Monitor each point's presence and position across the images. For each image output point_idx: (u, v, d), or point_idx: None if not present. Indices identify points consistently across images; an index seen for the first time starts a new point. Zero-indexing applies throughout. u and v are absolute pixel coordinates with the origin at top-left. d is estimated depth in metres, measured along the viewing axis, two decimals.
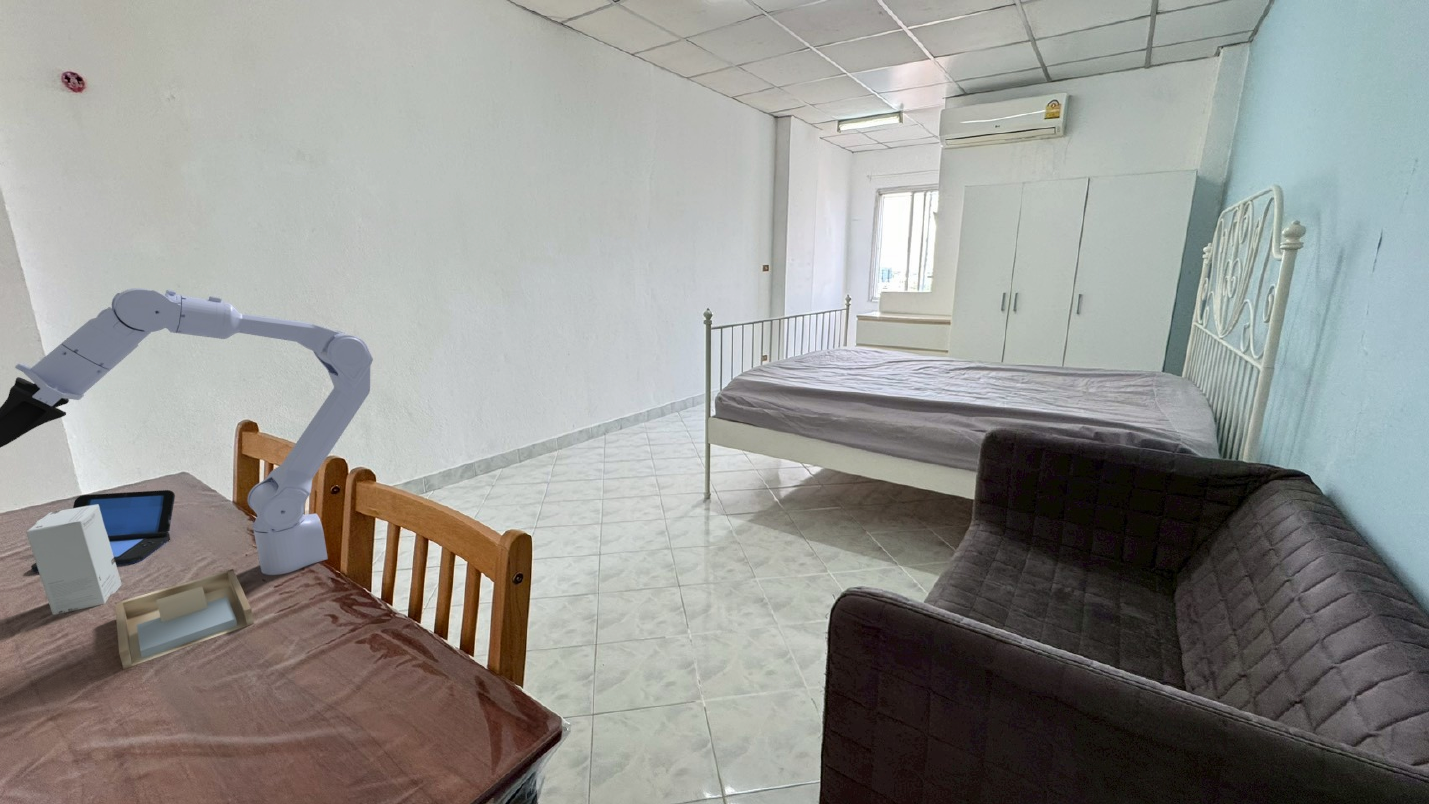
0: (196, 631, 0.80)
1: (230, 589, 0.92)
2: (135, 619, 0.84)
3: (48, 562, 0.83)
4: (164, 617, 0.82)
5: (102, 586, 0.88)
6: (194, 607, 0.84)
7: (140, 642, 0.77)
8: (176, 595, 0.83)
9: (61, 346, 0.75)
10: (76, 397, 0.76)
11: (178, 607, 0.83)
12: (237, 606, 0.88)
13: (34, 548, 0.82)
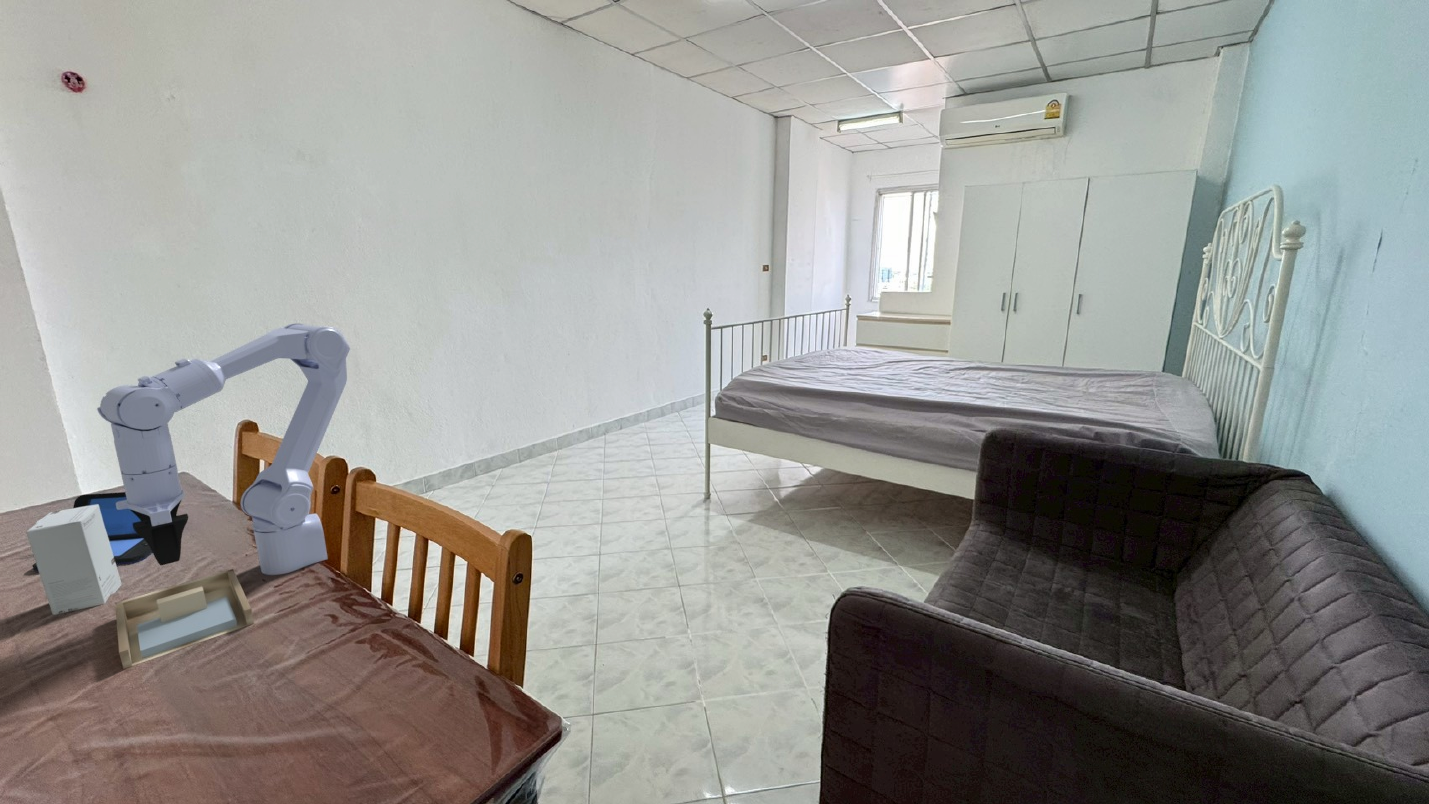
0: (196, 631, 0.80)
1: (230, 589, 0.92)
2: (135, 619, 0.84)
3: (48, 562, 0.83)
4: (164, 617, 0.82)
5: (102, 586, 0.88)
6: (194, 607, 0.84)
7: (140, 642, 0.77)
8: (176, 595, 0.83)
9: (123, 475, 0.79)
10: (180, 498, 0.83)
11: (178, 607, 0.83)
12: (237, 606, 0.88)
13: (34, 548, 0.82)
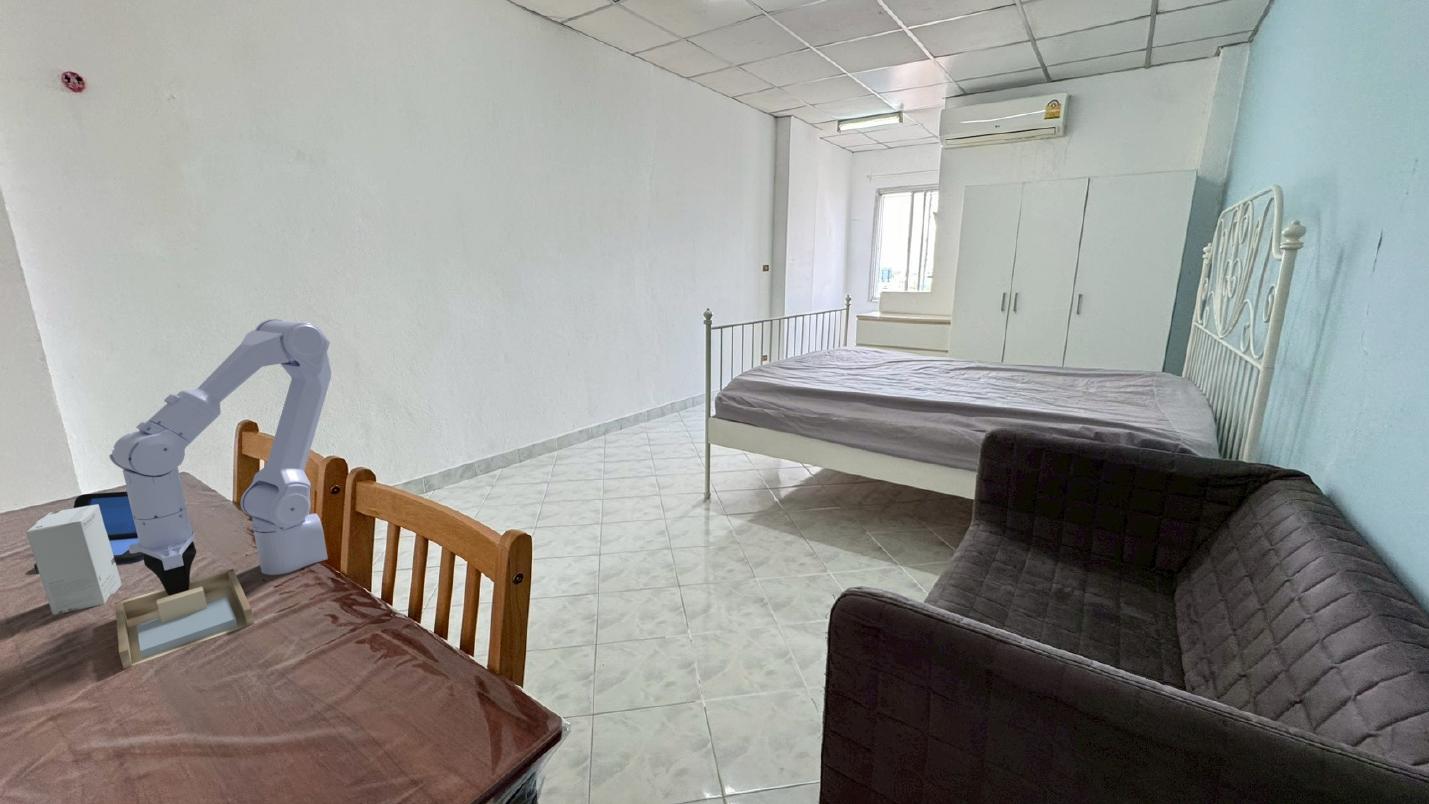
0: (196, 631, 0.80)
1: (230, 589, 0.92)
2: (135, 619, 0.84)
3: (48, 562, 0.83)
4: (164, 617, 0.82)
5: (102, 586, 0.88)
6: (194, 607, 0.84)
7: (140, 642, 0.77)
8: (176, 595, 0.83)
9: (135, 520, 0.81)
10: (190, 540, 0.85)
11: (178, 607, 0.83)
12: (237, 606, 0.88)
13: (34, 548, 0.82)
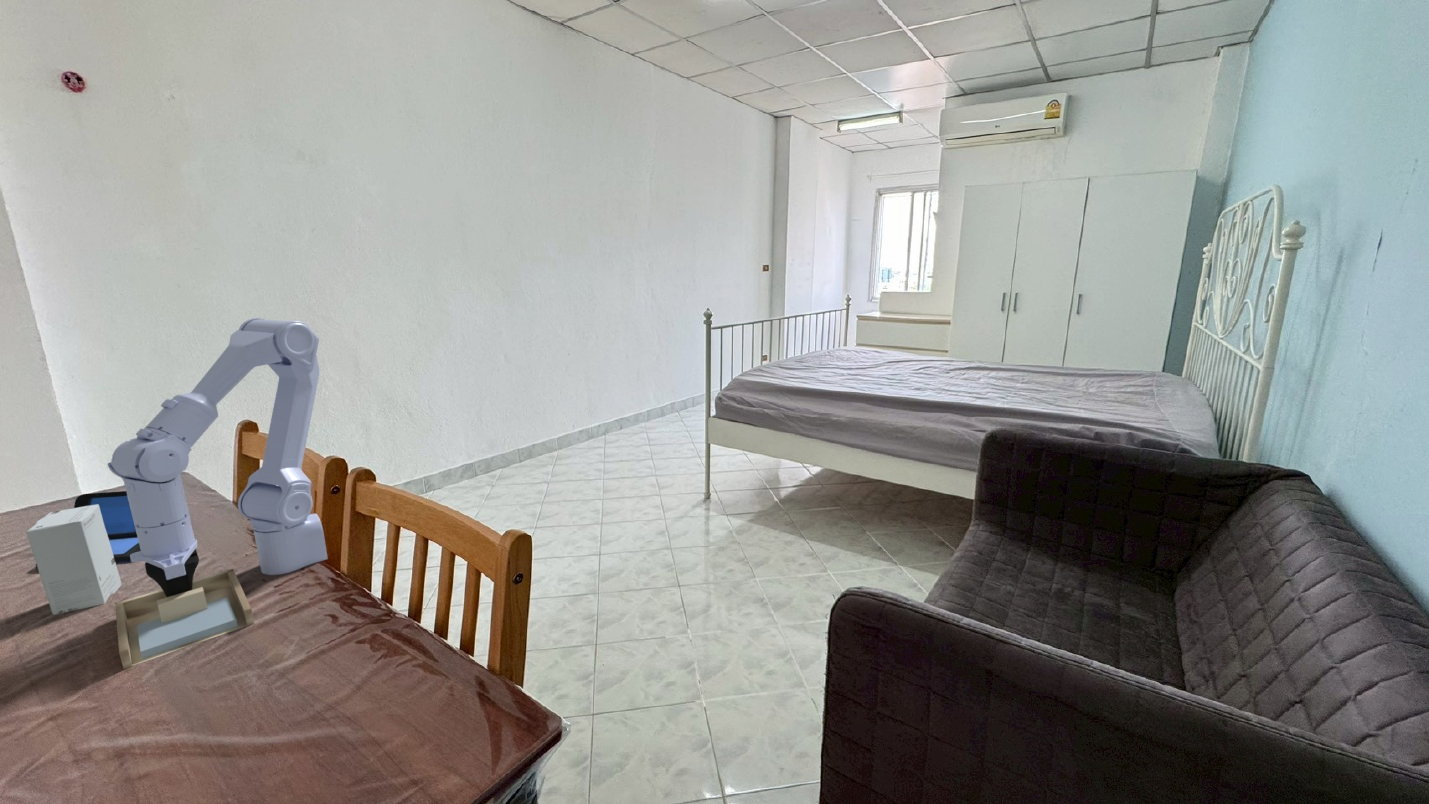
0: (197, 632, 0.80)
1: (230, 589, 0.92)
2: (135, 619, 0.84)
3: (48, 562, 0.83)
4: (164, 618, 0.82)
5: (102, 586, 0.88)
6: (194, 608, 0.84)
7: (140, 643, 0.77)
8: (176, 596, 0.83)
9: (137, 528, 0.79)
10: (193, 548, 0.83)
11: (178, 608, 0.83)
12: (237, 606, 0.88)
13: (34, 548, 0.82)
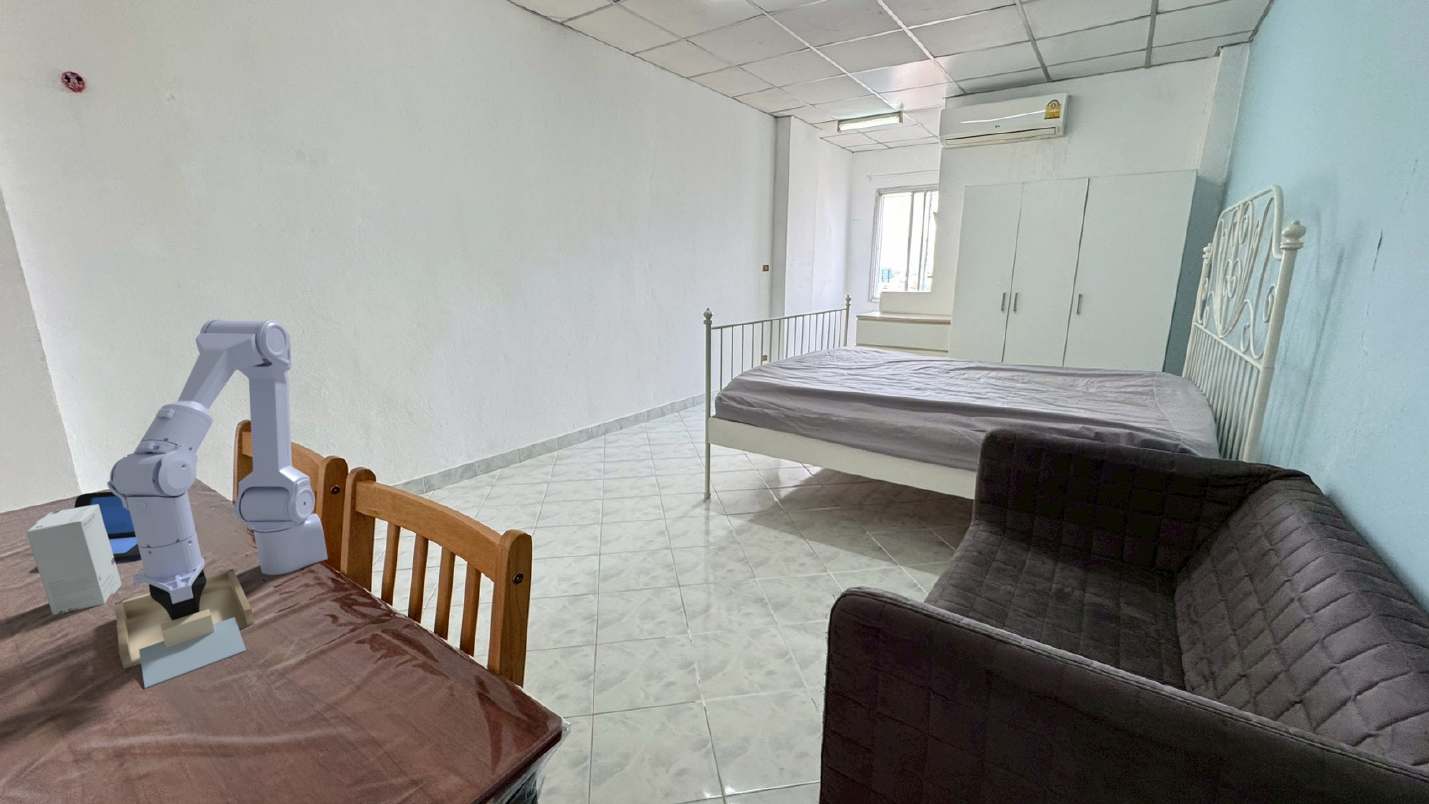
0: (204, 664, 0.75)
1: (230, 589, 0.92)
2: (135, 619, 0.84)
3: (48, 562, 0.83)
4: (169, 643, 0.77)
5: (102, 586, 0.88)
6: (200, 632, 0.79)
7: (144, 675, 0.72)
8: (181, 620, 0.77)
9: (141, 548, 0.74)
10: (200, 568, 0.78)
11: (184, 633, 0.77)
12: (237, 606, 0.88)
13: (34, 548, 0.82)
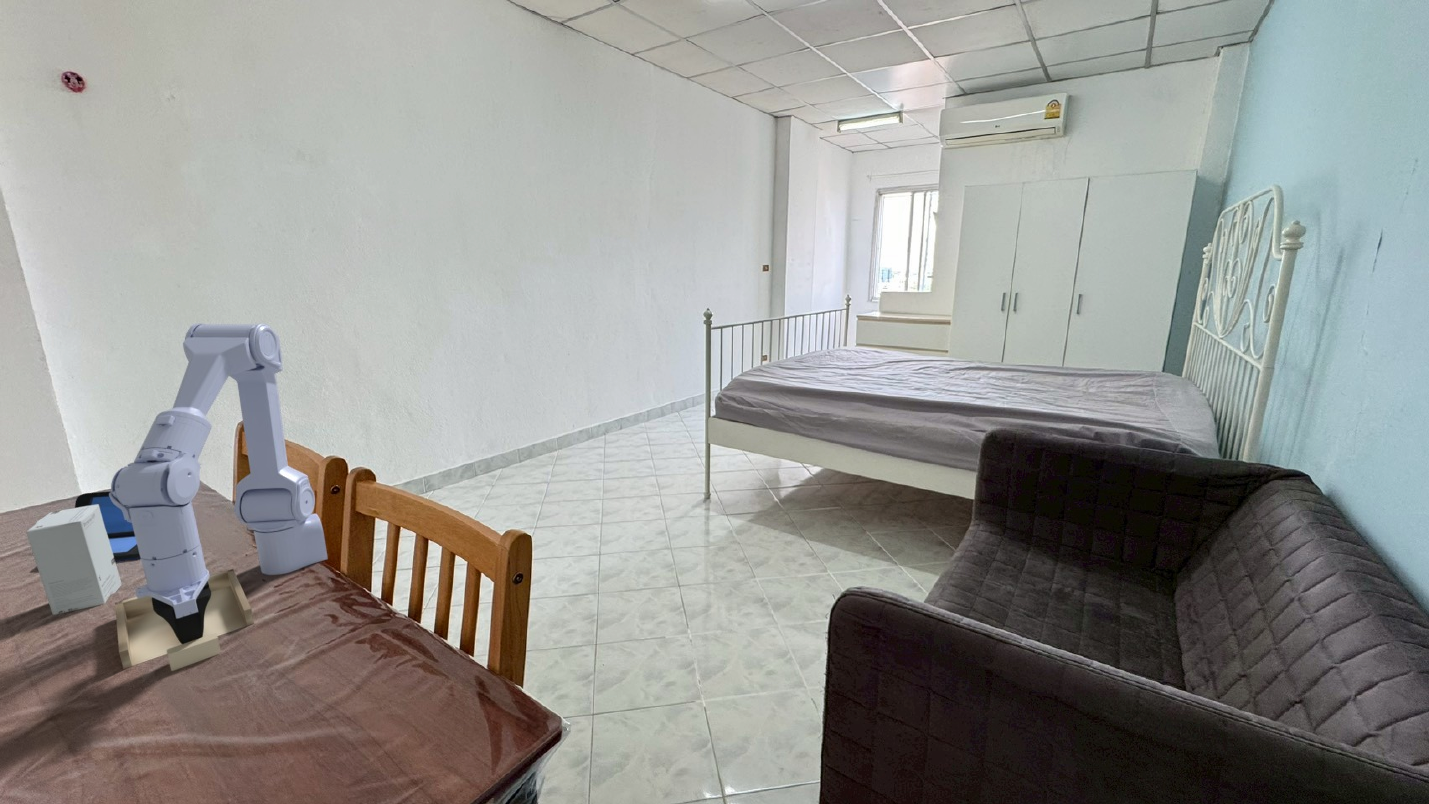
0: None
1: (230, 589, 0.92)
2: (135, 619, 0.84)
3: (48, 562, 0.83)
4: (175, 669, 0.74)
5: (102, 586, 0.88)
6: (207, 656, 0.77)
7: None
8: (188, 644, 0.75)
9: (143, 560, 0.71)
10: (205, 581, 0.75)
11: (190, 657, 0.75)
12: (237, 606, 0.88)
13: (34, 548, 0.82)
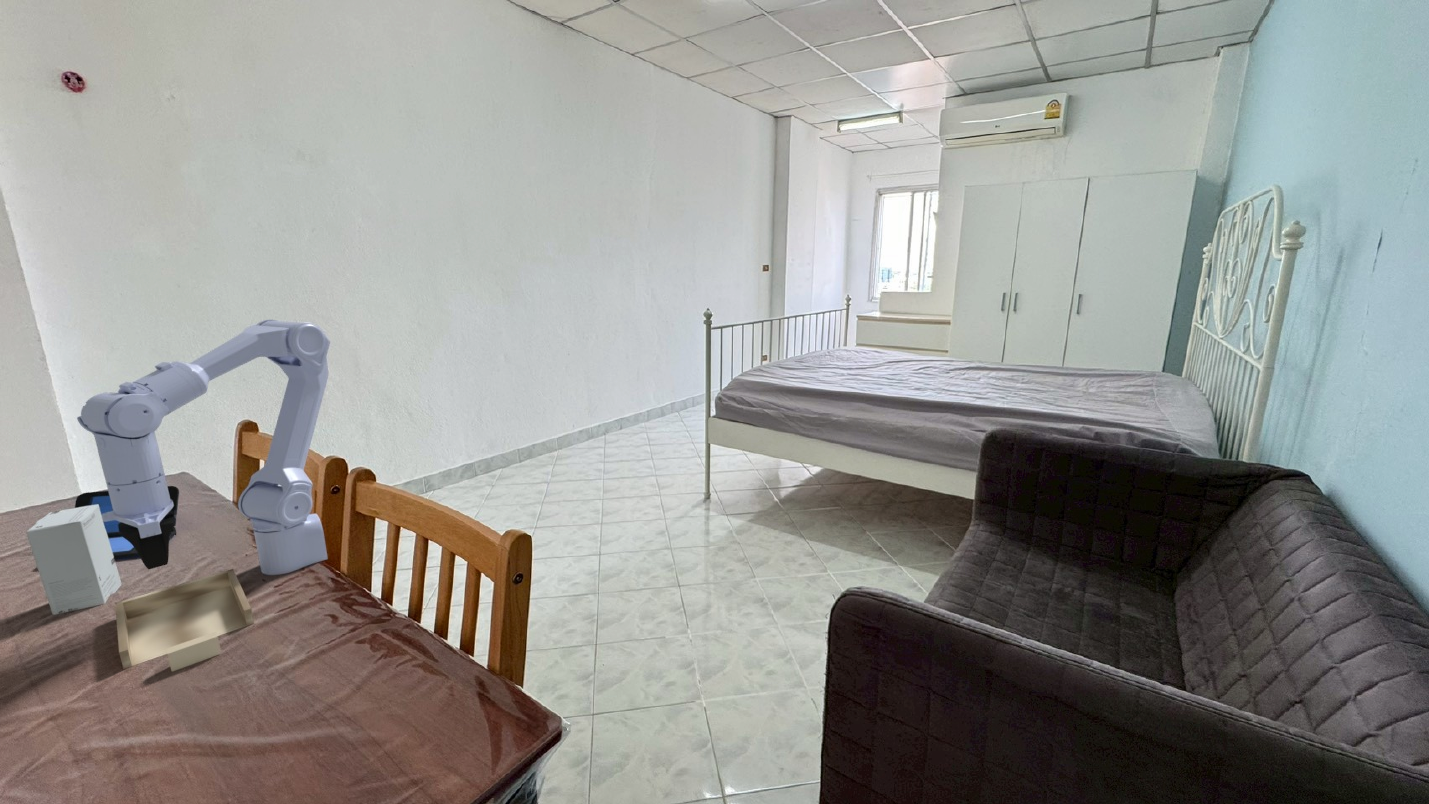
0: None
1: (230, 589, 0.92)
2: (135, 619, 0.84)
3: (48, 562, 0.83)
4: (175, 668, 0.74)
5: (102, 586, 0.88)
6: (207, 655, 0.76)
7: None
8: (188, 643, 0.75)
9: (109, 486, 0.76)
10: (169, 508, 0.80)
11: (190, 656, 0.75)
12: (237, 606, 0.88)
13: (34, 548, 0.82)
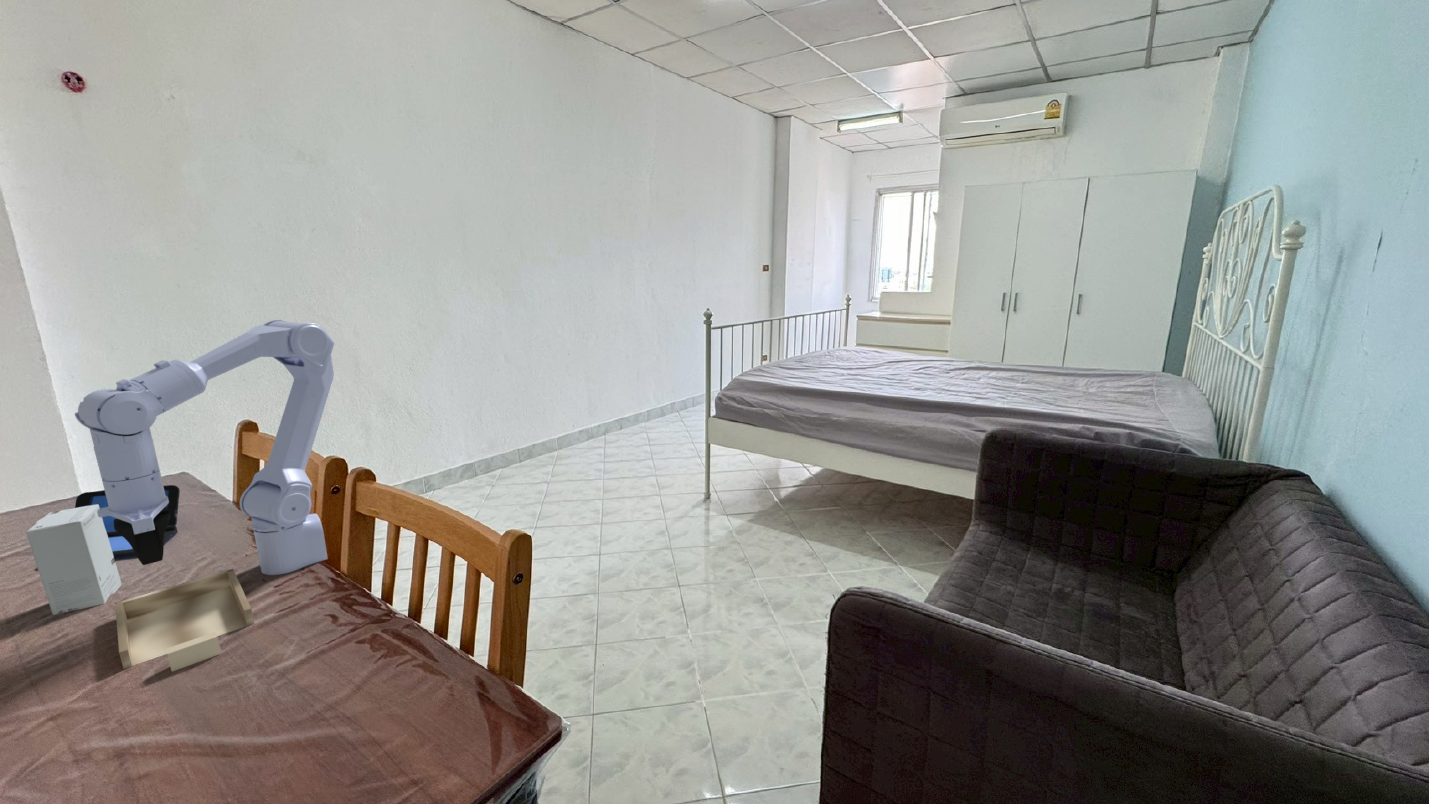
0: None
1: (230, 589, 0.92)
2: (135, 619, 0.84)
3: (48, 562, 0.83)
4: (175, 668, 0.74)
5: (102, 586, 0.88)
6: (207, 655, 0.76)
7: None
8: (188, 643, 0.75)
9: (104, 482, 0.77)
10: (164, 505, 0.81)
11: (190, 656, 0.75)
12: (237, 606, 0.88)
13: (34, 548, 0.82)
